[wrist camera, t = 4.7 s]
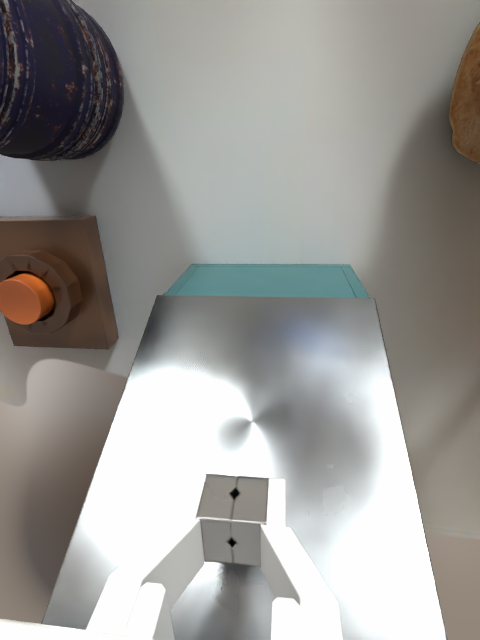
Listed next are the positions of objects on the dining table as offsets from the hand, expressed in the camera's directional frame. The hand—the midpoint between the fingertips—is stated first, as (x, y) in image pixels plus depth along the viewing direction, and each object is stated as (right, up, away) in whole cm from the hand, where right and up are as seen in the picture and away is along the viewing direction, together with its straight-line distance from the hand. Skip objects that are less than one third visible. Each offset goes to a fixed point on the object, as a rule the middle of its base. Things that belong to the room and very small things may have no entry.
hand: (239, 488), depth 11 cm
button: (-16, +7, +17) cm, 24 cm away
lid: (+1, 0, +5) cm, 5 cm away
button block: (-16, +9, +20) cm, 27 cm away
